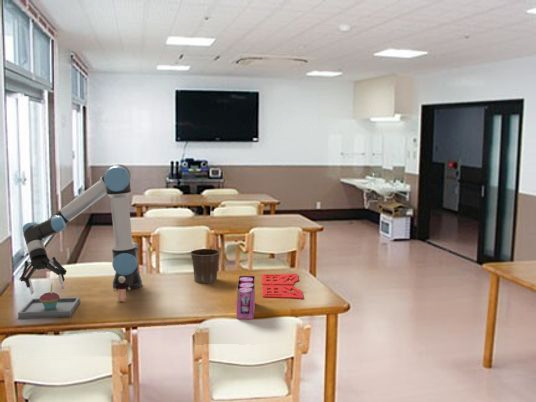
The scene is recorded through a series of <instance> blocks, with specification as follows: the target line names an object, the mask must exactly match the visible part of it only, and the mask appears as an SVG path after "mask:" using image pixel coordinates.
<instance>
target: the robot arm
mask: <svg viewBox="0 0 536 402" xmlns="http://www.w3.org/2000/svg"><path fill="white" fill-rule="evenodd" d="M99 178H100V179H99V180H98V181H97V182H95V183H94V184H92V186H90V187H89V188H87V189H86V190H85V191H84V192H82V193H81V194H79V195H78V196H76V197H75V198H73V200H72V201H70V202H69V203H68V204H66V205H64V207H62V208H61V209H59V210H58V211H57V212H55V213H54V214H52V215H51V216H50V217H49V218H48V219H47V220H44V221H42V222H40V223H38V222H35V221H31V222H27V223H24V225H23V226H22V233H23V234H22V235H23V238H24V241H25V244H26V248H27V251H28V252H27V253H28V255H29V260H30V261H28V260H25V261H24V265H23V267H24V268H23V271H22V274H21V276H20V282H24V283H25V286H26V288H27V289H29V292H30V295H34V292H35V290H34V286H33V284H32V279H31V277H32V276H33V274H34V273H35V272H36V270H38V271H41V270H45V269H46V270H49V271H51V272H52V273H54V274H55V275H57V276H58V277H57V278H58V281H59V285H60V288H61V290H64V288H65V283H64V282H65V280H66V279H65V275H66V274H67V270H66V269H65V268H64V266H63V265H61V264H60V263H59V261H58V260H57V258H56V257H55V256H53V257H52V258H49V257H48V254H47V250H46V247H45V244H44V243H45V242H44V240H45V239H46V238H48V237H50V236H53V235H55V234H58V233H61V232H63V231H64V230H65V229H66V228H67V224H69V223H70V222H71V221H73V220H74V219H75V218H77V217H78V216H79V215H80V214H82V213H83V212H84V211H86V210H88V208H90V207H92V206H93V204H95V203H96V202H98V201H99V200H100V199H102V198H103V197H104V196H106V195H107V196H108V197H109V198H110V199H109V200H110V209H111V219H112V229H113V230H112V231H113V239H114V245H113V246H112V248H111V250H112V251H111V253H112V264H111V265H112V268H113V270H114V272H115V274H114V277H113V279H112V288H114V289H115V287H116V285H117V284H118V283H120V282H119V277H120V276H124V277H125V281H124V283H126V284H128V285H129V287H130V290H135V289H138V288H141V287H142V286H143V280H142V277H141V274H140V272H139V245H138V243H137V242H133V235H132V234H133V233H132V223H131V214H130V213H131V212H130V203H129V202H130V200H129V195H130V194H131V193H132V189H131V171H130V170H129V169H128V167H127V166H125V165H124V164H114V165H112V166H110V167H109V168H108V169H107V170H106V171H105V173H104V174H103V175H102V176H100V177H99ZM43 239H44V240H43ZM30 266H32V268H31V270H30V271H29V272H28V274H27V275H26V273H27V271H28V267H30ZM118 289H119V288H117V289H116V290H118ZM125 289H126V291H127V290H128V288H126V287H125ZM128 291H129V290H128Z"/></svg>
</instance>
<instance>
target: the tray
mask: <svg viewBox="0 0 536 402" xmlns="http://www.w3.org/2000/svg"><path fill="white" fill-rule="evenodd" d="M80 298H81V297H78V296H77V297H60V298H59V300H58V302H57V305H56V308H54V309H45V308H44V305H43V303H42V302H40V300H39V299H40V297H37V298H31V299H30V300H29V301H28V302H27V303H26V304H24V306H23V307H22V308H21V309H20V310H19V311H18V312H17V317H18V319H39V318H68V317H71V316H72V315H73V313H74V312H75V311H76V309H77V307H78V306H79V304H80V303H81V299H80Z"/></svg>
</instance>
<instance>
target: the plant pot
mask: <svg viewBox="0 0 536 402" xmlns="http://www.w3.org/2000/svg"><path fill="white" fill-rule="evenodd" d="M189 254H190V255H191V261H192V270H193V276H194V278H193V280H194V282H196V283H199V284H202V283H204V284H209V283H210V284H212V283H215V282H217V280H218V266H219V258H220V254H221V251H220V250H219V249H216V248H215V249H214V248H198V249H194V250H191V251H190V252H189Z"/></svg>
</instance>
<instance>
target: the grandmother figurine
mask: <svg viewBox="0 0 536 402" xmlns="http://www.w3.org/2000/svg"><path fill="white" fill-rule="evenodd" d="M124 281H125V277H124V276H120V277H119V282H120V283H118V284H117V285H116V287H115V288H114V289H113V292H117V300H116V303H121V302H122V303H126V302H127V300H126V299H127V290H126V289H125V287H126V288H128V291H131V289H130V287H129V285H128V284H126V283H124ZM117 288H119V289H117Z"/></svg>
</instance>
